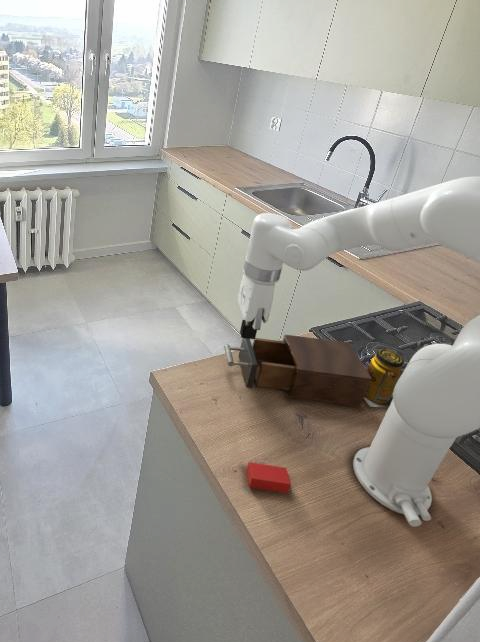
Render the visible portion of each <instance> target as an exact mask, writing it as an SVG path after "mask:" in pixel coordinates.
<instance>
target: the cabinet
mask: <svg viewBox="0 0 480 642" xmlns="http://www.w3.org/2000/svg"><path fill="white" fill-rule="evenodd" d="M282 341H284V342H286V343H287V346H288V348H289V351H290V353H291V356H292V358H293V360H294V363H295V365H296V368H297V371H296V374H295V377H294V380H293V384H292V387H291V390H286V393H287V396H288V398H289V399H290V400H299V401H305V402H313V403H320V404H327V405H335V406H336V405H337V406H342V407H349V408H357V409H360V408H361V406H362V403H363V401H364V400H365V399H364V397H365V394H366V392H367V390H368V387H369V385H370V383H371V380H372V378H371V376H370V375H369V373H368V371H367V368H366V366H365V364H364V363H363V361H362V360H361V358H360V356H359V355H358V352H357V351H356V350H355V349H354V347H353V345H352V344H351V342H350V341H349V342H348V341H341V340H333V339H332V340H331V339H324V338H317V337H309V336H300V335H291V334H284V335H283V338H282Z"/></svg>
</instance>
